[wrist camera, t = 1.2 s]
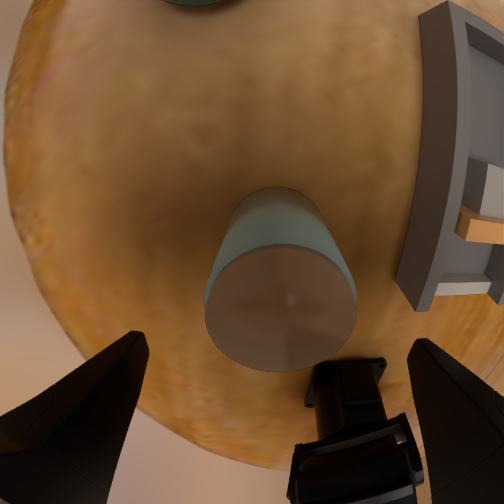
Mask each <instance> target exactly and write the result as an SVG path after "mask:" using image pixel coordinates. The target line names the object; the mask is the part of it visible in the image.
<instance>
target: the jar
mask: <svg viewBox="0 0 504 504" xmlns="http://www.w3.org/2000/svg"><path fill="white" fill-rule="evenodd" d="M356 295H357V294H356V287H355V283H354V280H353V277H352V275H351V273H350V271H349V269H348V267H347V265H346V263H345V261H344V259H343V257H342V255H341V253H340V251H339V249H338V247H337V245H336V243H335V241H334V239H333V237H332V235H331V233H330V231H329V229H328V227H327V225H326V223H325V221H324V220H323V218H322V216H321V214H320V212H319V210H318V209H317V207H316V206H315V204H314V203H313V202H312V201H311V200H310V199H309V198H308V197H306V196H305V195H304V194H302V193H300V192H298V191H296V190H293V189H290V188H285V187H269V188H264V189H261V190H258V191H256V192H253V193H252V194H250V195H248V196H247V197H246V198H245V199H243V200H242V201H241V203H240V204H239V205H238V206H237V208H236V209H235V211H234V213H233V215H232V217H231V220H230V223H229V225H228V228H227V230H226V233H225V236H224V238H223V241H222V244H221V246H220V249H219V252H218V254H217V257H216V260H215V262H214V265H213V268H212V271H211V273H210V276H209V279H208V282H207V285H206V288H205V293H204V309H205V322H206V327H207V330H208V333H209V335H210V337H211V339H212V340H213V342H214V343H215V345H216V346H217V347H218V348H219V349H220V350H221V351H222V352H223V353H224V354H225V355H226V356H228V357H229V358H231V359H232V360H234V361H235V362H237V363H239V364H242V365H244V366H246V367H249V368H252V369H256V370H261V371H267V372H289V371H296V370H301V369H305V368H308V367H311V366H313V365H316V364H318V363H320V362H322V361H324V360H326V359H327V358H329V357H330V356H332V355H333V354H334V353H335V352H337V351H338V350H339V349H340V348H341V347H342V346H343V345H344V343H345V342H346V341H347V339H348V338H349V336H350V334H351V332H352V330H353V328H354V325H355V321H356V313H357V308H356Z"/></svg>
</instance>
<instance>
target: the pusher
mask: <svg viewBox="0 0 504 504" xmlns="http://www.w3.org/2000/svg"><path fill="white" fill-rule="evenodd" d="M454 232H455V233H456V234H457V235H458V236H460V237H461V238H462V239H464V240H465V241H472V242H483V243H494V244H504V169H502V168H500V167H497V166H494V165H491V164H488V163H485V162H482V161H479V160H476V159H473V158H470V157H468V164H467V171H466V178H465V184H464V190H463V196H462V201H461V205H460V210H459V214H458V219H457V223H456V227H455V231H454Z"/></svg>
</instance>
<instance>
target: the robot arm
mask: <svg viewBox="0 0 504 504" xmlns="http://www.w3.org/2000/svg"><path fill="white" fill-rule="evenodd" d="M148 358H149V348H148V345H147V341H146V338H145V335H144V333H143V332H140V331H130V332H128V333H127V334H125V335H124V336H123V337H121V338H120V339H118V340H117V341H115V342H114V343H112V344H111V345H110V346H108V347H107V348H105V349H104V350H102V351H101V352H99V353H98V354H97V355H95V356H94V357H92V358H91V359H89V360H88V361H86V362H85V363H84V364H82V365H81V366H79V367H78V368H76V369H75V370H74V371H72V372H71V373H69V374H68V375H66V376H65V377H63V378H62V379H61V380H59V381H58V382H56V383H55V385H54V384H53V385H52V386H50V387H49V388H48V389H46V390H45V391H43V392H42V393H40V394H39V395H37V396H36V397H34V398H32V399H31V400H29V401H27V402H26V403H24V404H22V405H20V406H18V407H16V408H15V409H13V410H11V411H9V412H7V413H6V414H4V415H2V416H0V504H106V503H107V500H108V495H109V492H110V488H111V484H112V481H113V477H114V474H115V470H116V467H117V463H118V460H119V457H120V453H121V450H122V447H123V444H124V441H125V437H126V434H127V431H128V428H129V425H130V422H131V419H132V416H133V413H134V410H135V407H136V405H137V402H138V399H139V396H140V392H141V388H142V384H143V379H144V375H145V371H146V366H147V362H148ZM407 364H408V369H409V375H410V381H411V387H412V394H413V399H414V404H415V408H416V412H417V416H418V420H419V425H420V429H421V434H422V439H423V444H424V449H425V455H426V460H427V467H428V473H429V480H430V488H431V495H432V496H431V499H432V504H504V397H503V396H501V395H500V394H499V393H498V392H497V391H494V389H493V388H492V387H490V386H489V385H488V384H486V383H485V382H484V381H483V380H481V379H480V378H479V377H478V376H476V375H475V374H474V373H472V372H471V371H470V370H469V369H467V368H466V367H465V366H463V365H462V364H461V363H460V362H458V361H457V360H456V359H454V358H453V357H452V356H450V355H449V354H448V353H446V352H445V351H444V350H442V349H441V348H440V347H438V346H437V345H436V344H434V343H433V342H432V341H430V340H429V339H427V338H420V339H416V340H415V342H414V344H413V346H412V348H411V350H410V352H409V354H408V357H407ZM386 366H387V362H386V360H385V359H375V360H361V361H343V362H320V363H318V364H316V365H314V368H313V372H312V376H311V380H310V384H309V387H308V391H307V394H306V398H305V401H304V404H305V407H307V408H313V407H315V413H316V423H317V434H318V441H315V442H311V443H306V444H303V443H301V444H296V445H295V450H294V453H293V458H292V464H291V471H290V477H289V484H288V489H287V494H286V496H287V499H289V500H290V503H291V504H417V496H416V488H415V487H416V486H419V485H421V484H423V483H424V473H423V467H422V462H421V458H420V454H419V451H418V447H417V445H416V442H415V439H414V436H413V433H412V430H411V428H410V425H409V422H408V420H407V417H406V414H405V412H404V413H401V414H399V415H398V416H396V417H394V418H391V419H389V420H387V416H386V413H385V409H384V405H383V402H382V397H381V394H380V390H379V387H378V382H379V380H380V378H381V376H382V374H383V372H384V370H385V368H386ZM400 441H401V442H402V443H400V444H397V442H400Z"/></svg>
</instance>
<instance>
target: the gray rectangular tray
mask: <svg viewBox="0 0 504 504" xmlns="http://www.w3.org/2000/svg"><path fill="white" fill-rule="evenodd" d="M418 17H419V24H420V34H421V45H422V60H423V117H422V134H421V146H420V156H419V165H418V173H417V180H416V187H415V193H414V199H413V205H412V211H411V216H410V221H409V226H408V230H407V235H406V239H405V244H404V248H403V252H402V256H401V260H400V264H399V268H398V271H397V275H396V278H395V281H396V283H397V284H398V286H399V287H400V289H401V290H402V292H403V293H404V295H405V296H406V298H407V300H408V301H409V303H410V304H411V306H412V307H413V309H414V311H415V312H424V311H428V310H429V308H430V305H431V303H432V300H433V298H434V296H444V295H464V294H481V293H488V295H489V296H490V297H491V298H492V299H493V300H494V301H495V302H496V303H497V305H500V304H504V244H494V243H483V242H472V241H465V240H464V239H462V238H461V237H460V236H458V235H457V234H456V233H455V232H454V231H455V227H456V223H457V219H458V214H459V210H460V205H461V201H462V196H463V190H464V184H465V178H466V171H467V164H468V157H470V158H473V159H476V160H479V161H482V162H485V163H488V164H491V165H494V166H497V167H500V168H502V169H504V33H503V32H501V31H500V30H499V29H497V28H496V27H494V26H493V25H491V24H489V23H488V22H486V21H485V20H483V19H481V18H480V17H478V16H476V15H475V14H473V13H471V12H470V11H468V10H466V9H464V8H462V7H460V6H459V5H457V4H455V3H453V2H451V1H449V0H447V1H445V2H443V3H441V4H439V5H437V6H435V7H434V8H432V9H430V10H428V11H426V12H425V13H423V14H421V15H419V16H418Z"/></svg>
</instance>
